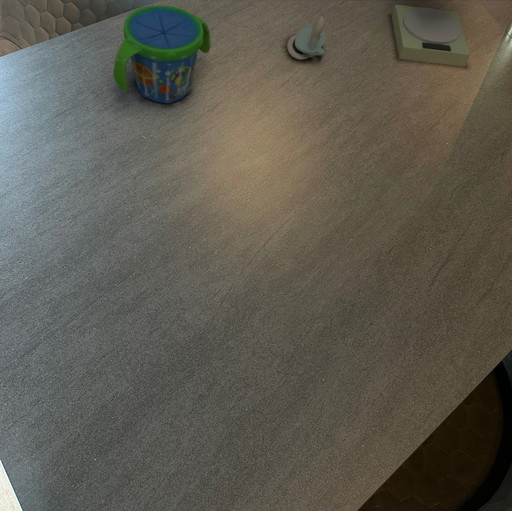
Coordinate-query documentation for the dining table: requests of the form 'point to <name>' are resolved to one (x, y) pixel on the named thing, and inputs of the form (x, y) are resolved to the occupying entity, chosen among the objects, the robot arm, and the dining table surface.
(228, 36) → the dining table surface
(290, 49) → the pacifier
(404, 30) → the scale
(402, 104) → the dining table surface
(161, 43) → the snack cup
